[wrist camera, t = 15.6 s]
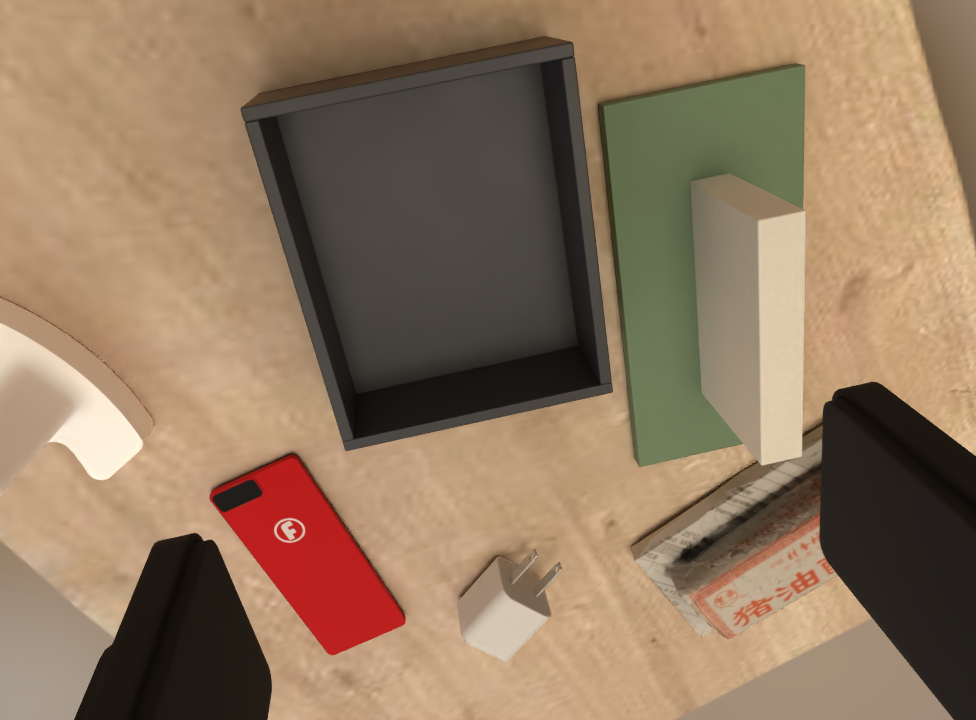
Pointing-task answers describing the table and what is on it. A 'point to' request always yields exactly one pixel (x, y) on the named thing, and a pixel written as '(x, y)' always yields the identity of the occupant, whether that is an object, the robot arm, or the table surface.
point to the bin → (440, 237)
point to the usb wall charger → (505, 607)
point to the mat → (685, 232)
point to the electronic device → (308, 554)
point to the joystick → (61, 400)
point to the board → (751, 311)
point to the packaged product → (744, 546)
